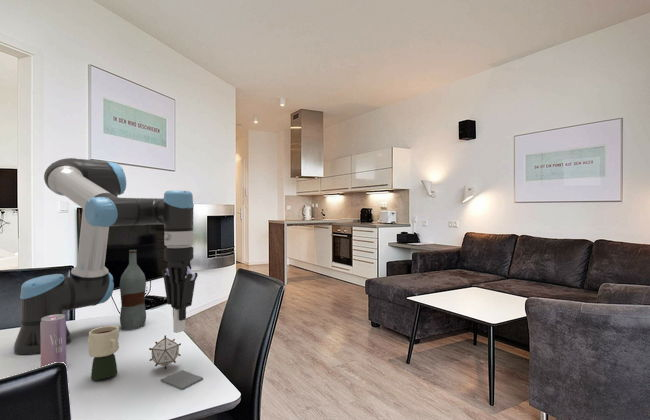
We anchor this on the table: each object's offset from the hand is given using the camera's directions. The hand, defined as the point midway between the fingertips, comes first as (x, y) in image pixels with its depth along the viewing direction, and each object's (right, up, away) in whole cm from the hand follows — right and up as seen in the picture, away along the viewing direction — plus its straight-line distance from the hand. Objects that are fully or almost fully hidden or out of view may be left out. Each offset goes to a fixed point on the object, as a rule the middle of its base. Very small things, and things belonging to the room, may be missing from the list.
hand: (179, 331), depth 101 cm
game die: (-5, -12, +4) cm, 14 cm away
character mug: (-20, -13, -1) cm, 24 cm away
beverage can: (-38, -13, +4) cm, 40 cm away
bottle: (-35, -12, +41) cm, 55 cm away
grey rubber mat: (+2, -12, -3) cm, 13 cm away
